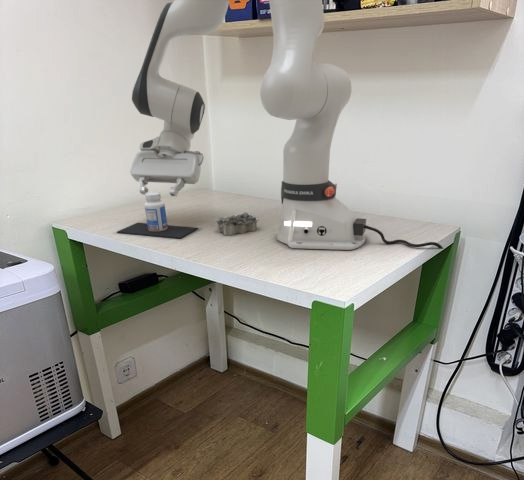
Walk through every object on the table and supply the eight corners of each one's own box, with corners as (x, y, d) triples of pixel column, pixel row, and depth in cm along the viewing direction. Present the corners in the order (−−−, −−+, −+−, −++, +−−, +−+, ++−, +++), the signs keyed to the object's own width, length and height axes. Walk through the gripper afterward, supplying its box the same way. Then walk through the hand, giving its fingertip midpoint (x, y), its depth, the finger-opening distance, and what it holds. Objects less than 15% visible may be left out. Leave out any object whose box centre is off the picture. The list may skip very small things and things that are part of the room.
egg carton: (226, 236, 127) (225, 221, 125) (214, 230, 132) (212, 215, 130) (260, 230, 131) (260, 215, 129) (247, 224, 137) (246, 209, 135)
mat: (198, 229, 134) (198, 227, 134) (180, 238, 126) (180, 237, 126) (137, 223, 140) (137, 222, 140) (117, 232, 132) (117, 231, 132)
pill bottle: (163, 225, 136) (158, 190, 131) (170, 230, 132) (166, 193, 127) (145, 229, 134) (139, 193, 129) (152, 233, 130) (147, 196, 125)
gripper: (209, 159, 133) (196, 202, 129) (146, 157, 139) (132, 199, 136) (200, 143, 127) (186, 189, 124) (135, 142, 133) (120, 185, 130)
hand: (157, 194), depth 130 cm, fingers open, 8 cm apart
